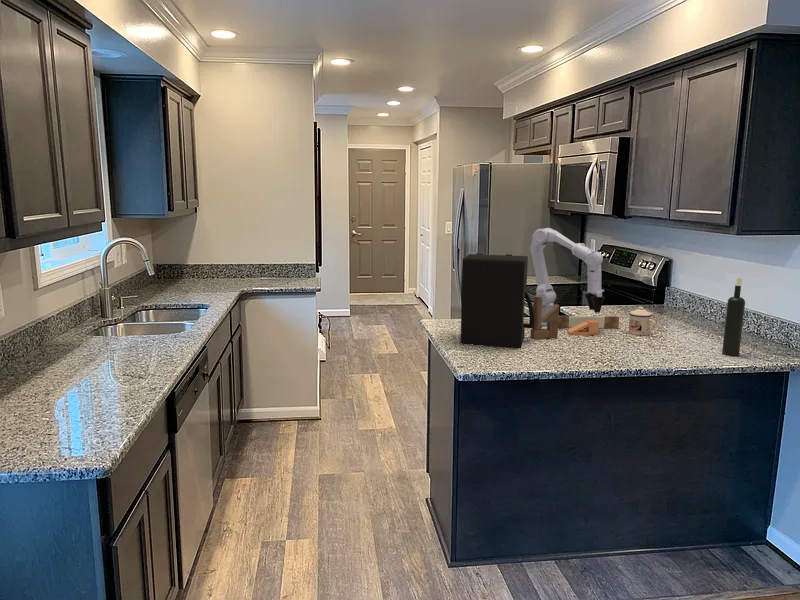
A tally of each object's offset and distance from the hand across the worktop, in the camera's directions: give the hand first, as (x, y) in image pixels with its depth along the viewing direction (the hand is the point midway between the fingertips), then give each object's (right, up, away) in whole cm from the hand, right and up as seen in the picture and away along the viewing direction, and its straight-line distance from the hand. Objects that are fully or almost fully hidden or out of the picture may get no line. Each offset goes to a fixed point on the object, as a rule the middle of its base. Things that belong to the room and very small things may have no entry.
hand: (594, 311), depth 263 cm
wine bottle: (+41, -16, -34) cm, 55 cm away
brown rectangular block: (-1, -8, +7) cm, 11 cm away
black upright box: (-45, -12, -16) cm, 49 cm away
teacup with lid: (+19, -10, -3) cm, 22 cm away
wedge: (-7, -10, -4) cm, 13 cm away
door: (-1, -8, +7) cm, 10 cm away
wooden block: (-25, -11, -10) cm, 29 cm away
